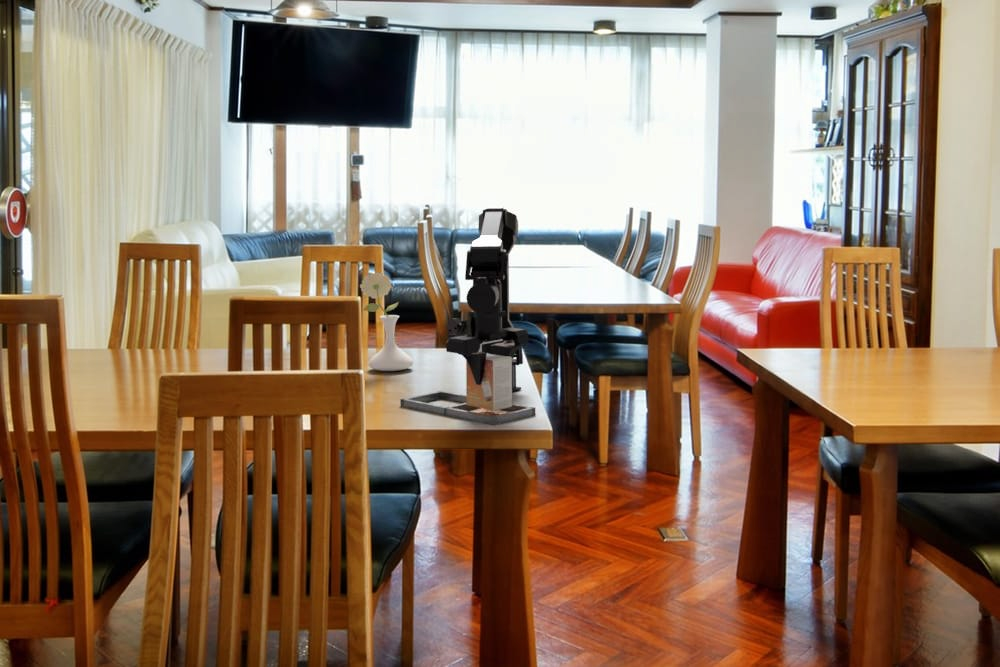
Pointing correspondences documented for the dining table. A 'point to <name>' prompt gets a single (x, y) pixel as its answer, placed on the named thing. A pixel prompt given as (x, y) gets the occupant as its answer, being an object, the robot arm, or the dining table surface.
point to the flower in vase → (390, 353)
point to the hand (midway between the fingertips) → (488, 382)
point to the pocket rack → (466, 408)
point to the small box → (491, 384)
